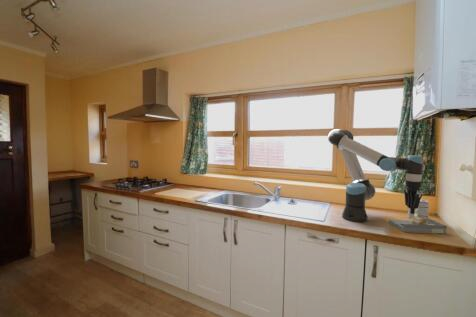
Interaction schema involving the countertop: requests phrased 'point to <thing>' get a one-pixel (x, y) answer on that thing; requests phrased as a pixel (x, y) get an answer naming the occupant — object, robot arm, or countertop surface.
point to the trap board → (418, 226)
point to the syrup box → (422, 209)
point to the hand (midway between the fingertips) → (410, 218)
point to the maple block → (420, 220)
